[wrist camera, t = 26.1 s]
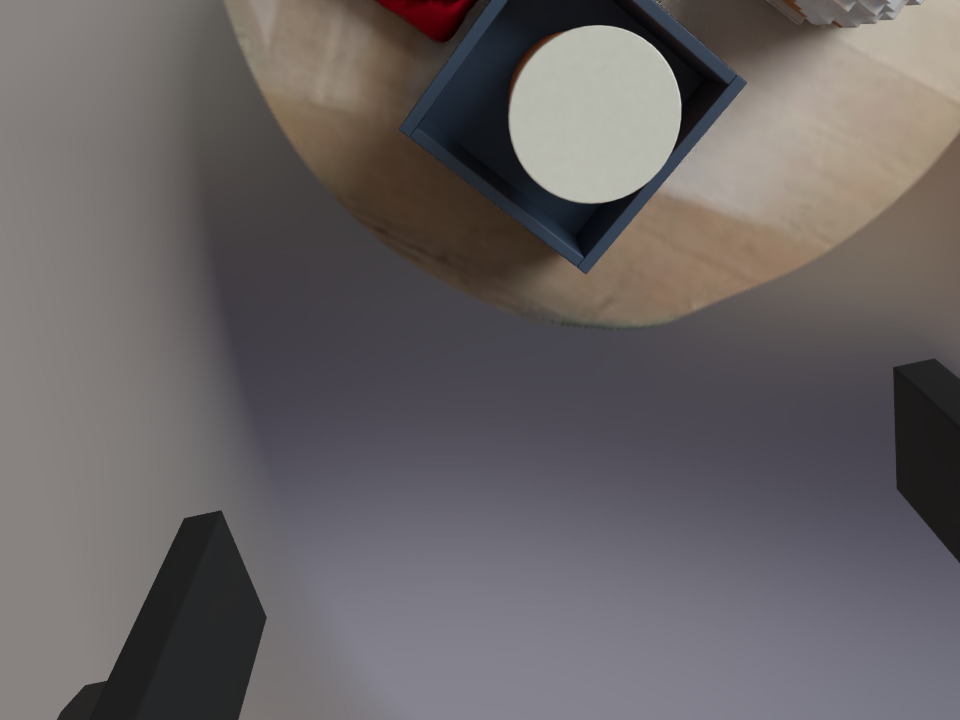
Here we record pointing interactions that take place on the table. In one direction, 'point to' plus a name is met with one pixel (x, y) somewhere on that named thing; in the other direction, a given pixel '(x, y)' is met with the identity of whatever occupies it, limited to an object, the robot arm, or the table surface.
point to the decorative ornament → (841, 11)
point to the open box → (484, 110)
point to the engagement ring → (432, 15)
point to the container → (593, 113)
